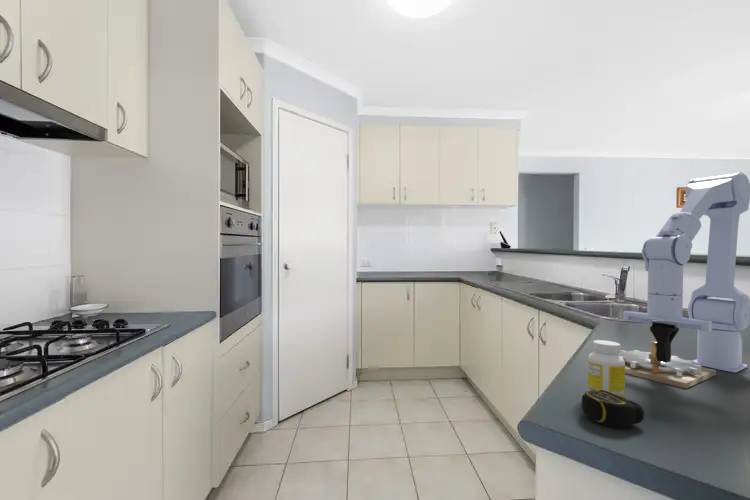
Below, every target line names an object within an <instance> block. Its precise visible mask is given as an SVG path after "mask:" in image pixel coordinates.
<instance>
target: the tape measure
mask: <svg viewBox="0 0 750 500" xmlns="http://www.w3.org/2000/svg"><path fill="white" fill-rule="evenodd" d="M581 409H582V412H583V414H584V415H585V416H586V417H588V418H589V419H590V420H592V421H595V422H598V423H600V424H602V425H605V426H606V427H607V426H610V427H615V428H629V427H631V426H633V425H636V424H640V423H642V422H643V421H644V420H645V419H644V418H645V410H644V407H642V406H641V405H639V404H638V403H636V402H634V401H632V400H630V399H627V398H626V397H625V398H623V397H621V396H618V395H615V394H612V393H610V392H607V391H604V390H599V391H593V390H590V391H588V390H587V391H585V392H584V394H583V395H581Z"/></svg>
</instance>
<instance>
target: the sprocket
mask: <svg viewBox="0 0 750 500" xmlns="http://www.w3.org/2000/svg"><path fill="white" fill-rule="evenodd" d="M620 350H621V351H620V353H619V356H620V357H622V358H623V359H624V361H625V363H626V364H628V365H631V367H633V368H642V369H646V370H651V371H652V372H655V373H659V372H663V373H672V374H675V375H679V376H682V374H692V375H698V372H701V367H703V366H701V365H695V362H694V361H693V360H692V359H689V360H688V359H684V358H680V357H679V356H677V355H671V361H670V362H667V363H666V362H663V361H662V362H661V361H657V341H656V340H655V341H652V340H651V341H650V351H640V350H638V349H633V350H629V351H628V350H623V349H620Z"/></svg>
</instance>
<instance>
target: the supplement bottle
mask: <svg viewBox="0 0 750 500" xmlns="http://www.w3.org/2000/svg"><path fill="white" fill-rule="evenodd" d="M592 350H594V351H593V352H591V353H589V355H588V357H587V359H588V360H587V391H590V390H593V391H599V390H604V391H607V392H610V393H612V394H615V395H618V396H621V397H623V398H625V399H626V395H625V394H626V393H625V392H626V390H625V389H626V373H625V361H624V359H623V358H622V357H620V356H619V353H620V351H621V350H622V349H621V344H620V343H619V342H616V341H612V340H611V341H610V340H602V339H595V340H593V341H592Z"/></svg>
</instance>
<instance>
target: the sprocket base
mask: <svg viewBox="0 0 750 500" xmlns="http://www.w3.org/2000/svg"><path fill="white" fill-rule="evenodd" d="M625 374H627V375H631V376H635V377H639V378H643V379H647V380H650V381H655V382H659V383H662V384H667V385H671V386H674V387H678V388H682V389H685V390H686V389H688V388H690V387H693V386H695V385H697V384H699V383H701V382H703V381H705V380H707V379H710V378H712V377H714V376H716V375H717V369H714V368H709V367H705V366H702V367H701V372H698V375H692V374H682V376H679V375H675V374H672V373H663V372H659V373H655V372H652V371H651V370H646V369H642V368H633V367H631V365H628V364H626V363H625Z"/></svg>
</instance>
